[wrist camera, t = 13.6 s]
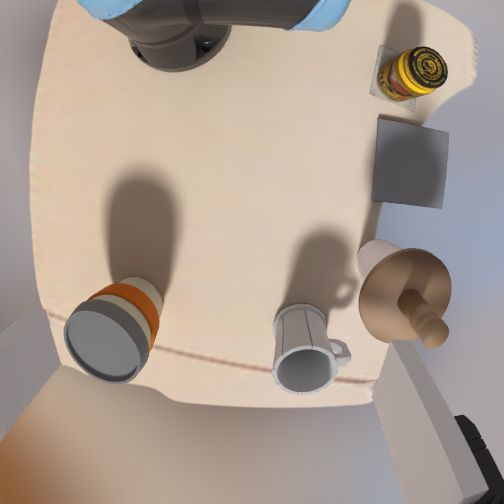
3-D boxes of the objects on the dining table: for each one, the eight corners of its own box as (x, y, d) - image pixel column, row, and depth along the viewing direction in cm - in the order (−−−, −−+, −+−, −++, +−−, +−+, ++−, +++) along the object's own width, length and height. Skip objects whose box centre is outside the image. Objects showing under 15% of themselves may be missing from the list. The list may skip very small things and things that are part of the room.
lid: (366, 245, 33) (394, 278, 25) (455, 250, 33) (497, 279, 24) (351, 339, 37) (367, 387, 29) (433, 336, 37) (462, 377, 28)
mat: (377, 119, 41) (379, 118, 40) (446, 133, 40) (449, 133, 39) (371, 199, 44) (373, 200, 44) (439, 207, 44) (441, 209, 43)
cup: (322, 288, 49) (334, 328, 38) (343, 330, 52) (359, 375, 40) (262, 316, 51) (260, 361, 40) (288, 356, 54) (290, 404, 42)
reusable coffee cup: (94, 283, 52) (47, 325, 37) (147, 254, 49) (104, 294, 35) (132, 340, 55) (98, 392, 41) (186, 318, 52) (160, 374, 38)
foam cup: (398, 222, 45) (436, 248, 33) (406, 276, 48) (440, 314, 36) (340, 239, 47) (363, 272, 34) (352, 293, 49) (374, 337, 37)
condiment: (369, 94, 40) (399, 79, 28) (379, 45, 37) (410, 19, 26) (412, 111, 40) (453, 104, 28) (422, 63, 37) (461, 45, 26)
